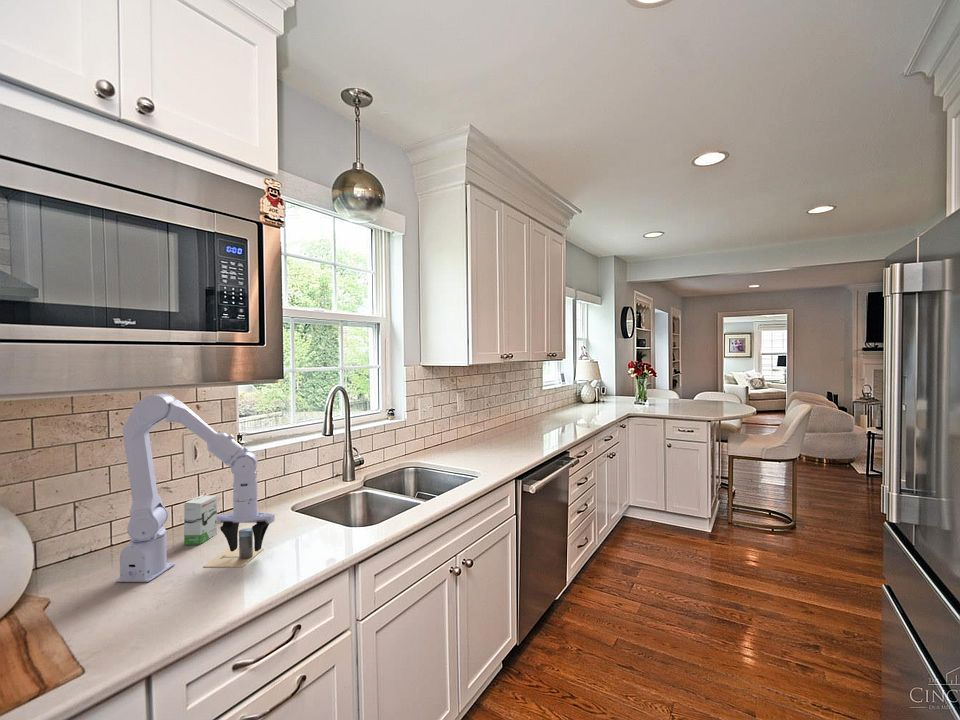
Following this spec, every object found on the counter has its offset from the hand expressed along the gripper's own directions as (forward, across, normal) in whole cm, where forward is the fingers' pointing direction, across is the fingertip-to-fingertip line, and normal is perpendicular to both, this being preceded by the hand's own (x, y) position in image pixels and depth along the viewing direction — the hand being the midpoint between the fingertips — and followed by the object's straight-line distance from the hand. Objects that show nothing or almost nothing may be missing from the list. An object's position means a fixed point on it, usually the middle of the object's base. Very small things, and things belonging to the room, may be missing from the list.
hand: (245, 549), depth 122 cm
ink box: (+2, +20, -13) cm, 24 cm away
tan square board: (+2, +3, 0) cm, 4 cm away
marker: (+2, 0, 0) cm, 2 cm away
